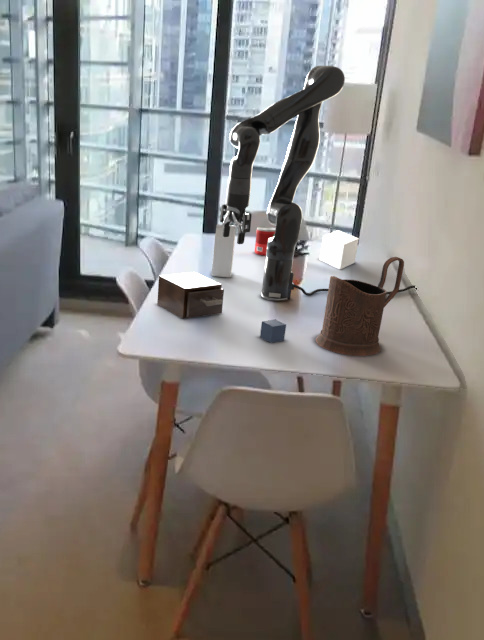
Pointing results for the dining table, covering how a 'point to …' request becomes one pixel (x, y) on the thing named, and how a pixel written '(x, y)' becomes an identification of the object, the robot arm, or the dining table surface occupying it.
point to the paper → (339, 249)
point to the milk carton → (223, 252)
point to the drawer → (204, 302)
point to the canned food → (263, 239)
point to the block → (273, 331)
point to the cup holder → (356, 314)
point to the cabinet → (181, 290)
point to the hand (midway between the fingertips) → (232, 240)
